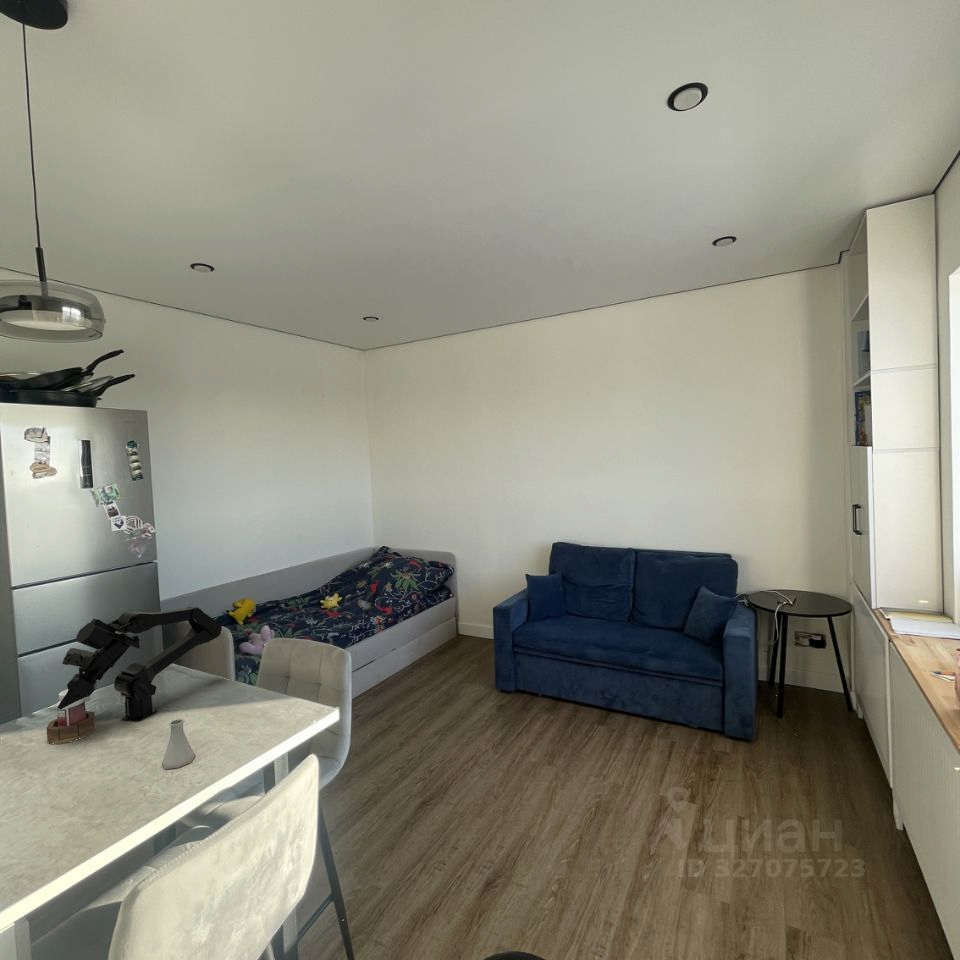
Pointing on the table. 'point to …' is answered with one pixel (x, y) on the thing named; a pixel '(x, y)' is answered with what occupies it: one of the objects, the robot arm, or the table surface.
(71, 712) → the pill bottle
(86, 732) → the bottle holder
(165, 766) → the flask
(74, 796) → the table surface
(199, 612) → the robot arm
